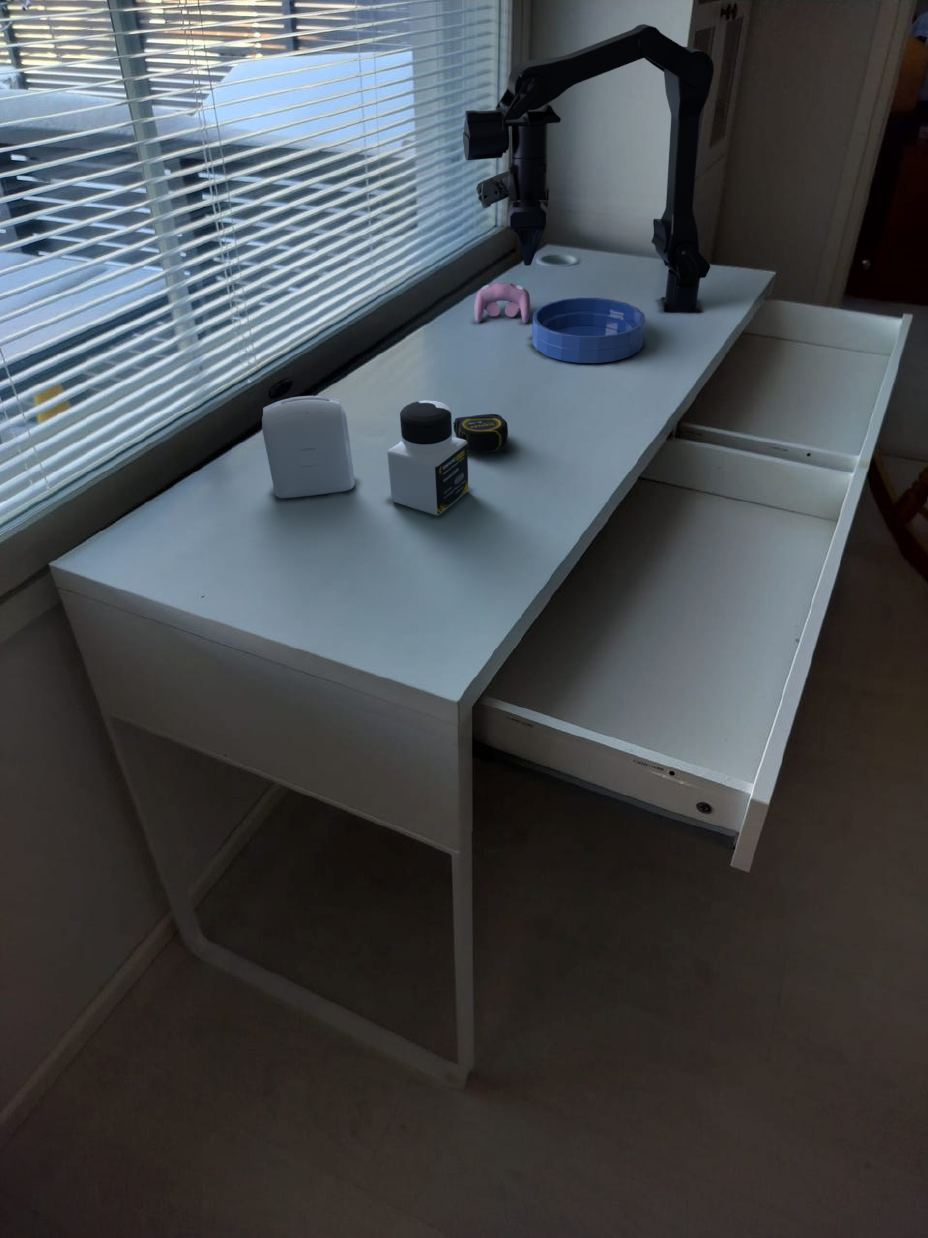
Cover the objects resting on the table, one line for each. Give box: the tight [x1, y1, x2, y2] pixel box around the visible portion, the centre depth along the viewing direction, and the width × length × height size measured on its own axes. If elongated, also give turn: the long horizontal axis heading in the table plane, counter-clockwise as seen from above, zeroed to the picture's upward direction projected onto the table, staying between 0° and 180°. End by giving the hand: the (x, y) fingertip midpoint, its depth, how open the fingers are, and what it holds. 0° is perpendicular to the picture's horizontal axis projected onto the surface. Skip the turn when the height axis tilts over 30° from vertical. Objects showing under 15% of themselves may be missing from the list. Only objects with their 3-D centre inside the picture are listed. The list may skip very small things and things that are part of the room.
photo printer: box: [261, 395, 356, 499], centre depth 109 cm, size 10×4×12 cm, turn 100°
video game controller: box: [473, 282, 531, 324], centre depth 157 cm, size 10×5×7 cm, turn 84°
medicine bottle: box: [386, 399, 469, 516], centre depth 107 cm, size 7×7×12 cm
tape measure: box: [452, 413, 509, 454], centre depth 120 cm, size 7×7×4 cm
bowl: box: [531, 297, 646, 364], centre depth 147 cm, size 18×18×4 cm
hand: (528, 256), depth 151 cm, fingers open, 9 cm apart
